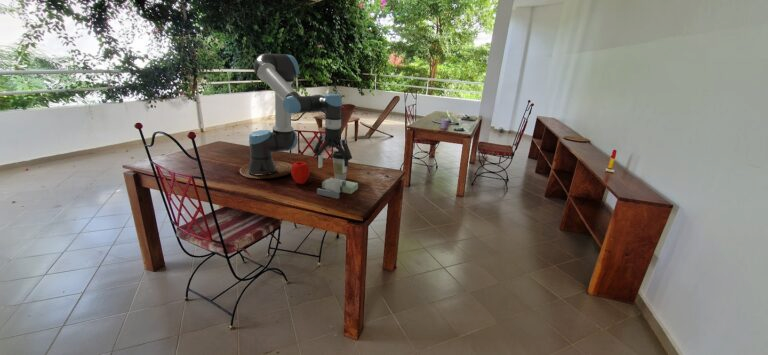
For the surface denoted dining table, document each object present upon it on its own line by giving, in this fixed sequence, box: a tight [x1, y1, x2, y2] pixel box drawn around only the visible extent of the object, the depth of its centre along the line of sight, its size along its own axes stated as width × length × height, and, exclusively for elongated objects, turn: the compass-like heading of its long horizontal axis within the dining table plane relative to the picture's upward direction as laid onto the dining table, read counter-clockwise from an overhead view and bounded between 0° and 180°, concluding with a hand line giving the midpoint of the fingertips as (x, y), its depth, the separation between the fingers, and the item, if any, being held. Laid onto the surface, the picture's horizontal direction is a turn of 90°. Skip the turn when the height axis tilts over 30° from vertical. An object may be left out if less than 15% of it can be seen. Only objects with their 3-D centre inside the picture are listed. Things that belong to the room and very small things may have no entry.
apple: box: [290, 160, 311, 185], centre depth 176 cm, size 10×10×12 cm
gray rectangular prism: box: [324, 177, 341, 194], centre depth 166 cm, size 6×6×7 cm
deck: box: [316, 177, 359, 200], centre depth 169 cm, size 17×17×6 cm
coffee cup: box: [331, 150, 350, 181], centre depth 185 cm, size 10×10×15 cm
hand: (332, 169), depth 163 cm, fingers open, 13 cm apart
